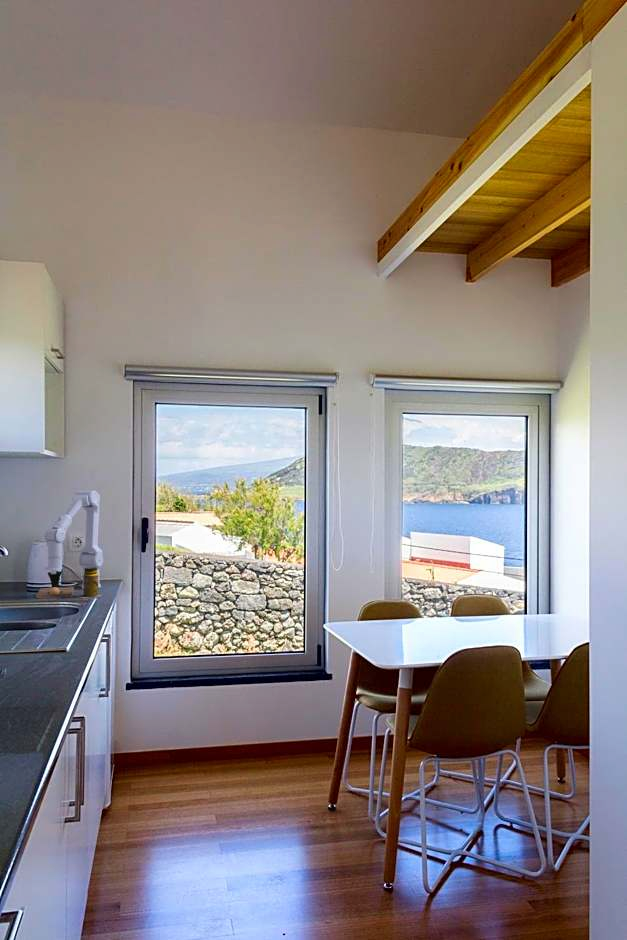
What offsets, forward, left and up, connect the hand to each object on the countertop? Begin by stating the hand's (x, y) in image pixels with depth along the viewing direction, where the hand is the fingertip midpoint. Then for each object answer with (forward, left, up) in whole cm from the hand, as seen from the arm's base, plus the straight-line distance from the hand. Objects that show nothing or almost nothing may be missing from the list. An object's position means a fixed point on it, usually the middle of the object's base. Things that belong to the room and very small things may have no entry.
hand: (55, 588), depth 339 cm
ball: (+2, 0, -1) cm, 2 cm away
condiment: (+5, +14, -3) cm, 15 cm away
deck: (-3, 0, -3) cm, 4 cm away
